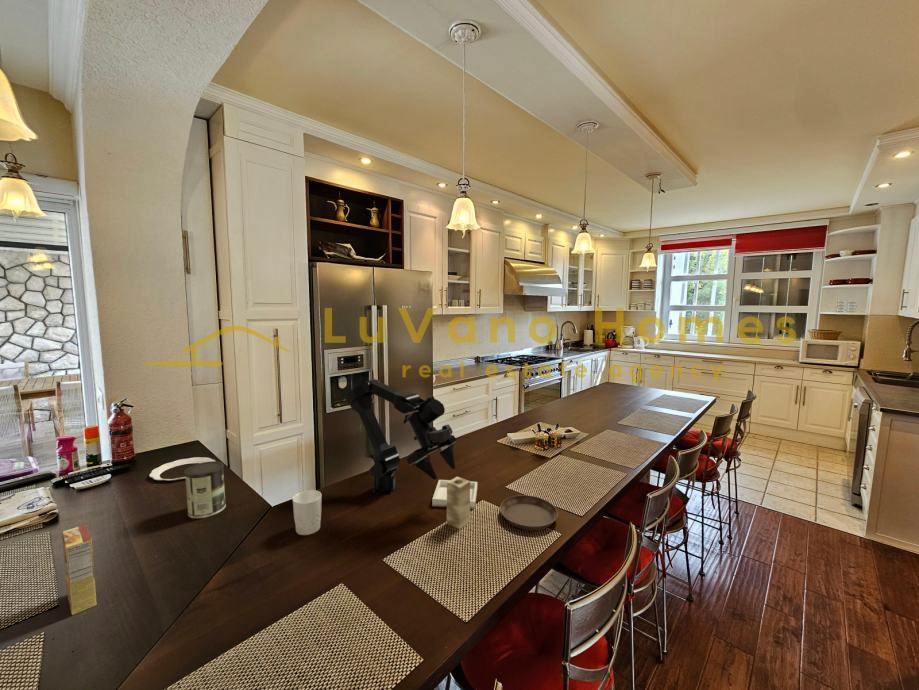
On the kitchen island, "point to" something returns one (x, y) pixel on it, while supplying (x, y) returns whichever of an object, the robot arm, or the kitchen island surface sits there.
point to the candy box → (79, 569)
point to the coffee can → (205, 489)
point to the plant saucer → (528, 512)
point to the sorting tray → (441, 494)
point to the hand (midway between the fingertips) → (445, 474)
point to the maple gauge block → (458, 502)
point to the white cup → (307, 511)
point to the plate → (156, 472)
